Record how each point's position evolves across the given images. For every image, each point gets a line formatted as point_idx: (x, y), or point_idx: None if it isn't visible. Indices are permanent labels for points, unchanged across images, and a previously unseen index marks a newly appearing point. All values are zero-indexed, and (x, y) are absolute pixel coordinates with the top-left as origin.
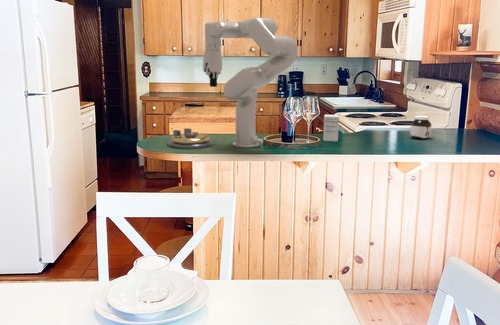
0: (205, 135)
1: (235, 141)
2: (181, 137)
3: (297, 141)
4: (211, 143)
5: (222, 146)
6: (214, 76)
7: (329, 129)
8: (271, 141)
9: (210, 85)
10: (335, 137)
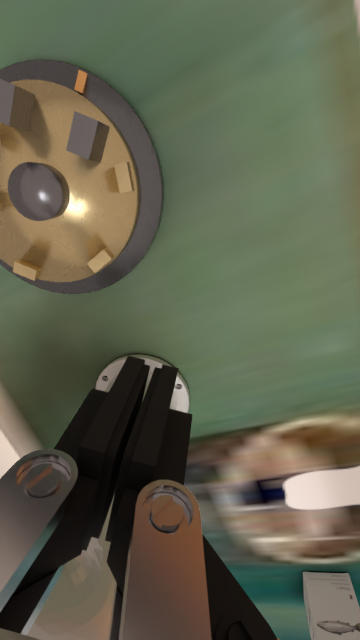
0: (105, 248)
1: (152, 361)
2: (12, 149)
3: (272, 516)
4: (70, 293)
5: (90, 328)
6: (41, 589)
7: (311, 625)
8: (247, 452)
9: (125, 369)
10: (305, 607)
